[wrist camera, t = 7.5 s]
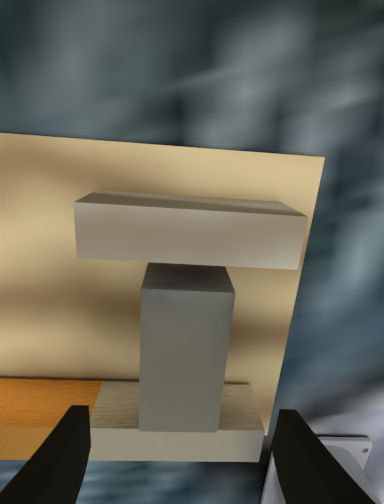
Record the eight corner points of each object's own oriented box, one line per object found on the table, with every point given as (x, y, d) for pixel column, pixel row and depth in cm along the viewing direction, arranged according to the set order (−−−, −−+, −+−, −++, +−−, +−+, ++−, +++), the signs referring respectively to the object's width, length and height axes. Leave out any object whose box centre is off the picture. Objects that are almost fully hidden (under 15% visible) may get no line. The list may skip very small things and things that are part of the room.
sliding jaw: (246, 412, 21) (258, 461, 18) (-48, 407, 20) (-94, 458, 17) (251, 384, 20) (264, 430, 17) (-56, 376, 19) (-105, 424, 16)
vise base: (263, 423, 23) (284, 490, 19) (-43, 418, 22) (-102, 489, 17) (316, 156, 17) (367, 160, 12) (-117, 124, 15) (-241, 114, 11)
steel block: (208, 365, 20) (217, 432, 15) (148, 363, 20) (138, 431, 15) (220, 253, 17) (235, 293, 13) (151, 249, 17) (140, 288, 12)
